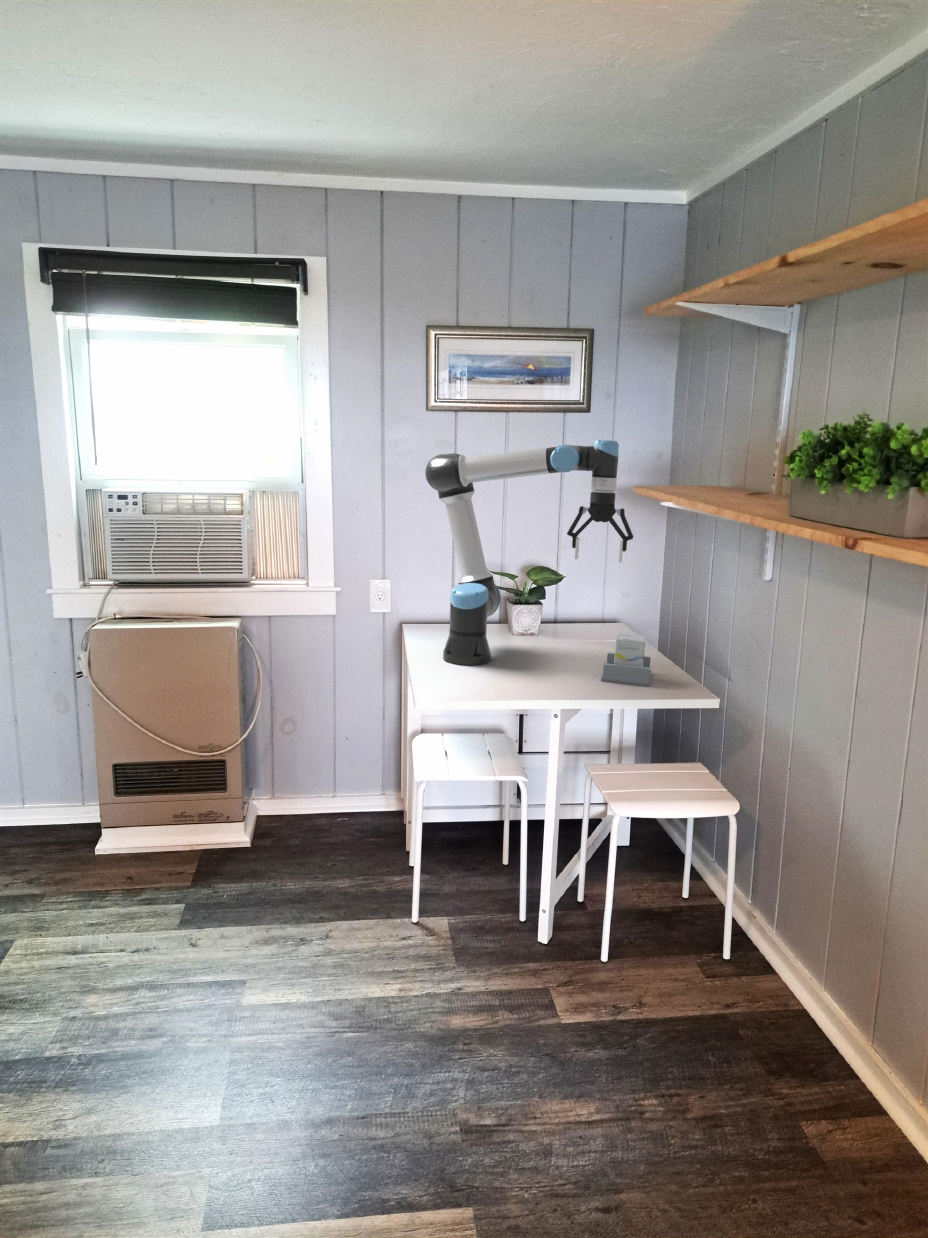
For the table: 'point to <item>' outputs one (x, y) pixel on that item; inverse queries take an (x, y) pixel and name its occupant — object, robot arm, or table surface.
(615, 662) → the ink box
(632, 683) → the channel holder
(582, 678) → the table surface
